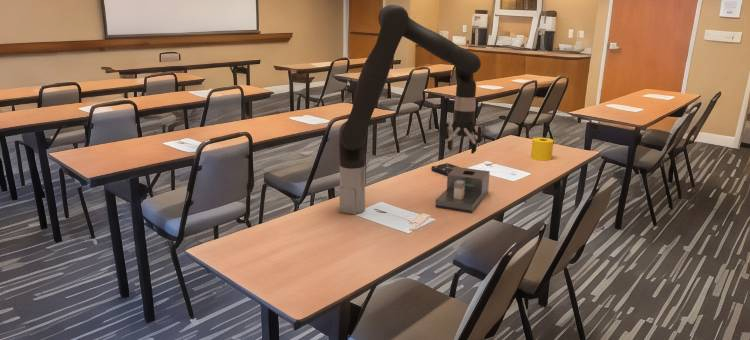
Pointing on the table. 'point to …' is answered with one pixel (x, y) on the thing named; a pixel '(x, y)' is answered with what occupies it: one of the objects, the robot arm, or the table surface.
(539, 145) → the tape roll
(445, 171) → the disk drive
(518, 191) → the table surface
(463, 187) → the plug
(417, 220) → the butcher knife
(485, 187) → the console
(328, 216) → the table surface
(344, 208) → the robot arm
